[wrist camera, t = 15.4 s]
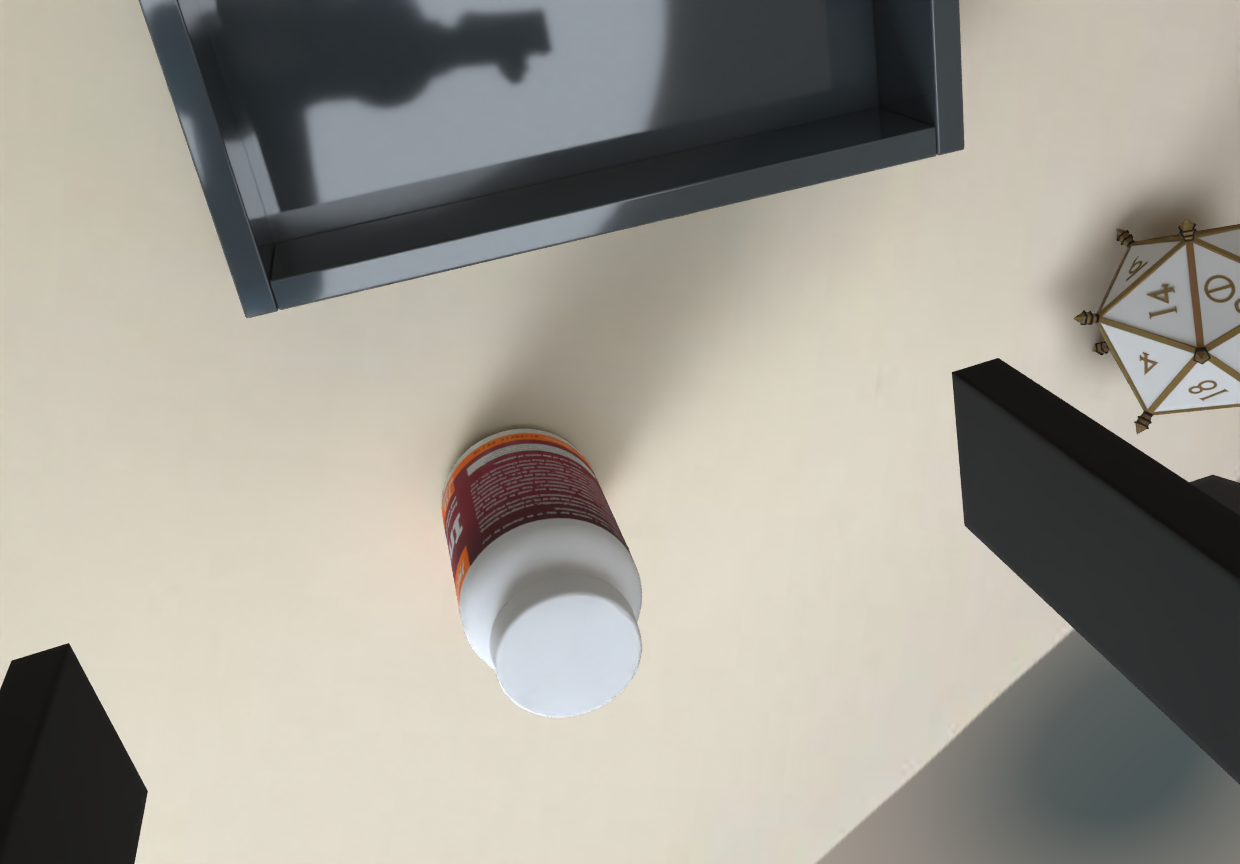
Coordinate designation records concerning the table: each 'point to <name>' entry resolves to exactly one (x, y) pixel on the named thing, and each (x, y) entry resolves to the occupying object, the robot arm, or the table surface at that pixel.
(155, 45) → the tray
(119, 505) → the table surface
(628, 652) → the pill bottle
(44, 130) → the table surface
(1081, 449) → the robot arm
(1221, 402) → the game die
